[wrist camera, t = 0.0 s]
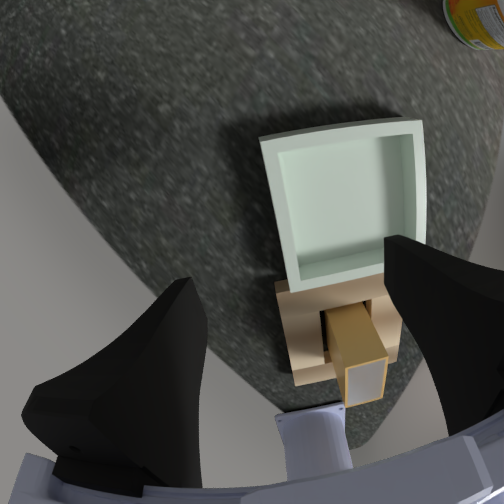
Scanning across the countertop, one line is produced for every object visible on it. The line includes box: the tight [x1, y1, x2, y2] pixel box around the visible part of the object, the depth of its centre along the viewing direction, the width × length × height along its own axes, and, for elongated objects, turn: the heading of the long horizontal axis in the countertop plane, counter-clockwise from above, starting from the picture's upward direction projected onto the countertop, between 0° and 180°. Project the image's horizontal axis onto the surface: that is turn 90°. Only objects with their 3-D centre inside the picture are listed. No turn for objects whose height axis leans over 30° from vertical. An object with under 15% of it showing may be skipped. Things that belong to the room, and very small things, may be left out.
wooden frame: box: [274, 272, 402, 386], centre depth 24 cm, size 11×10×2 cm
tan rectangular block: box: [324, 301, 389, 408], centre depth 22 cm, size 5×3×7 cm, turn 12°
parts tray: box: [258, 117, 426, 293], centre depth 19 cm, size 10×10×2 cm
